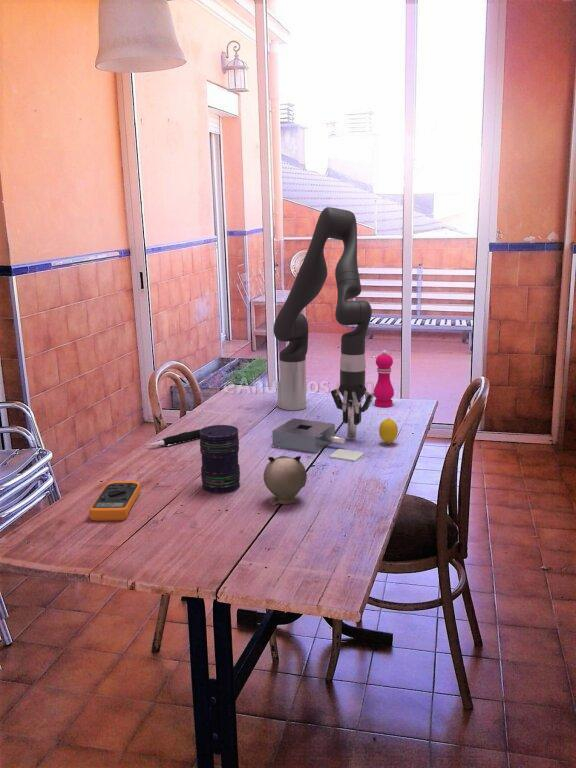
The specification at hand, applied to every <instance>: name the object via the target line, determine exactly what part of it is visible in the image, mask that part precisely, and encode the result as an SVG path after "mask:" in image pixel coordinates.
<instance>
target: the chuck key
mask: <svg viewBox="0 0 576 768" xmlns="http://www.w3.org/2000/svg"><path fill="white" fill-rule="evenodd" d="M346 406H347V424H346V425H347V426H346V436H347V437H346V438H347V439H356V438H357V425H355V413H356V412H355V406H354V402H353V400H348V401H347V402H346Z"/></svg>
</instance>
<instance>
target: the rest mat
mask: <svg viewBox="0 0 576 768" xmlns="http://www.w3.org/2000/svg"><path fill="white" fill-rule="evenodd" d="M365 454H366V453H365V452H362V451H355V450H351V449H350V450H349V449H348V450H347V449H343V448H338V449H337V450H336V451H334V452H332V453H331V454H330V455H329V456H328V457H329V458H331V459H335V460H336V459H337V460H341V461H349V462H357V461H358V460H359V459H361V457H363V456H364V455H365Z"/></svg>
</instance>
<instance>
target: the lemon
mask: <svg viewBox="0 0 576 768" xmlns="http://www.w3.org/2000/svg"><path fill="white" fill-rule="evenodd" d="M398 434H399V429H398V425H397V423H396V422H395V420H394V419H391V418H390V417H387V418H386V419H384V420H382V421H381V422H380V425H379V428H378V435H379V437H380V439H381V440H382V441H383V442H385V443H386V444H387V445H389V444H390V443H392V442H394V441H395V440H396V439H397V438H398Z"/></svg>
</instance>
